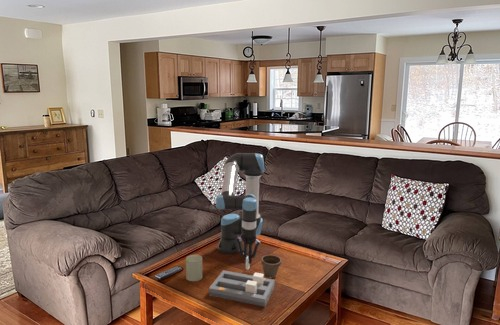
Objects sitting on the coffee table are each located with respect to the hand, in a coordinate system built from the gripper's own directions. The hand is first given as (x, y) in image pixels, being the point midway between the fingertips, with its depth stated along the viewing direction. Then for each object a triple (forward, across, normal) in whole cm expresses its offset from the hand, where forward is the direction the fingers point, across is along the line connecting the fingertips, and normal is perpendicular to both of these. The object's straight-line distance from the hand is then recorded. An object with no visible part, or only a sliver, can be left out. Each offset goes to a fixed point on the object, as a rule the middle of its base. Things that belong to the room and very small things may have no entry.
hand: (247, 268), depth 200 cm
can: (+11, -31, -1) cm, 33 cm away
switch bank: (+10, -1, -5) cm, 12 cm away
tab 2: (+8, +6, -1) cm, 11 cm away
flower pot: (+11, +9, +16) cm, 21 cm away
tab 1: (+8, +5, -10) cm, 14 cm away
